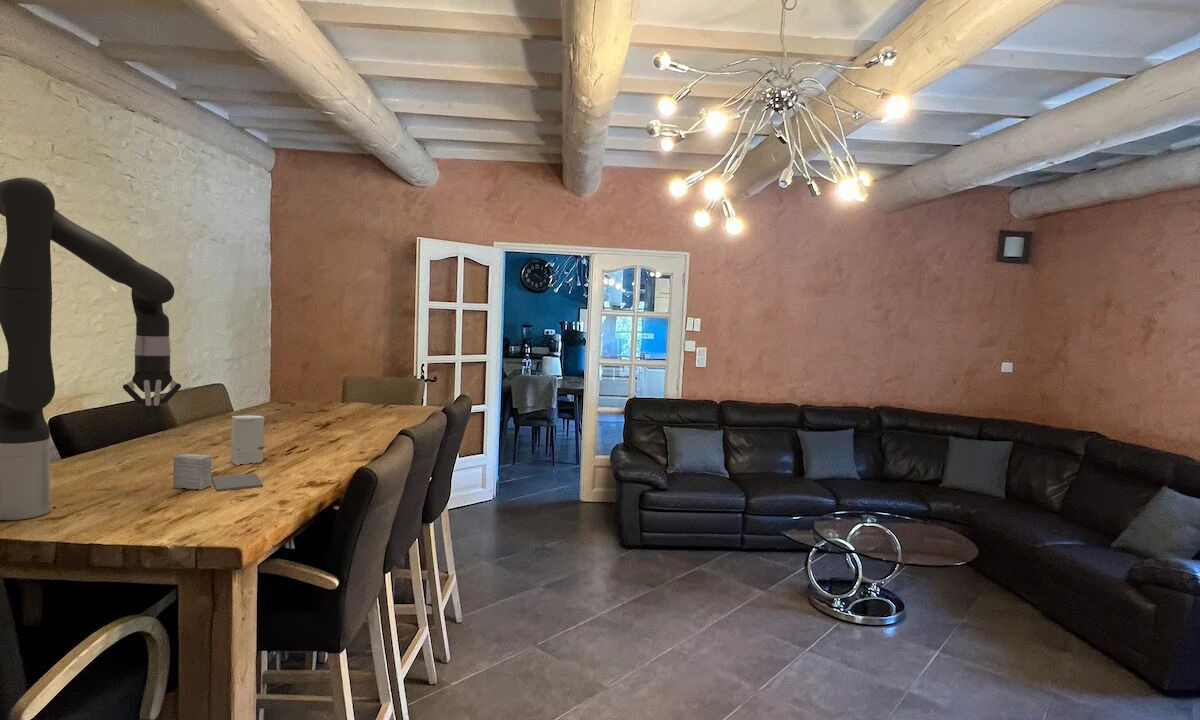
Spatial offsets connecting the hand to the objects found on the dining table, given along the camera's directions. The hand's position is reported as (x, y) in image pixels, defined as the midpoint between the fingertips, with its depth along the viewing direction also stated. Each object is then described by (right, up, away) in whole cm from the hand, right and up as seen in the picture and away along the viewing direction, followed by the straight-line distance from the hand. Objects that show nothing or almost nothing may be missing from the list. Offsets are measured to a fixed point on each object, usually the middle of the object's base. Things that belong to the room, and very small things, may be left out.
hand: (152, 419), depth 165 cm
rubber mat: (+15, -19, +13) cm, 27 cm away
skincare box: (+5, -17, +36) cm, 40 cm away
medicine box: (+6, -19, +7) cm, 21 cm away
